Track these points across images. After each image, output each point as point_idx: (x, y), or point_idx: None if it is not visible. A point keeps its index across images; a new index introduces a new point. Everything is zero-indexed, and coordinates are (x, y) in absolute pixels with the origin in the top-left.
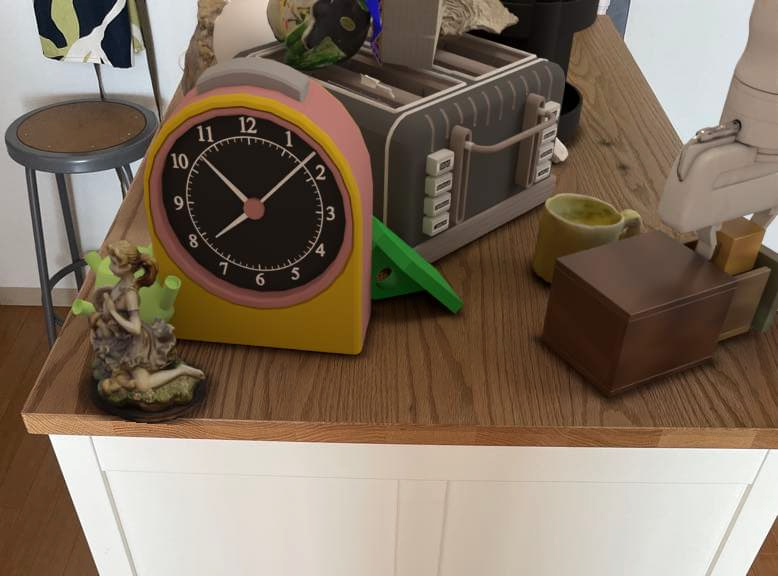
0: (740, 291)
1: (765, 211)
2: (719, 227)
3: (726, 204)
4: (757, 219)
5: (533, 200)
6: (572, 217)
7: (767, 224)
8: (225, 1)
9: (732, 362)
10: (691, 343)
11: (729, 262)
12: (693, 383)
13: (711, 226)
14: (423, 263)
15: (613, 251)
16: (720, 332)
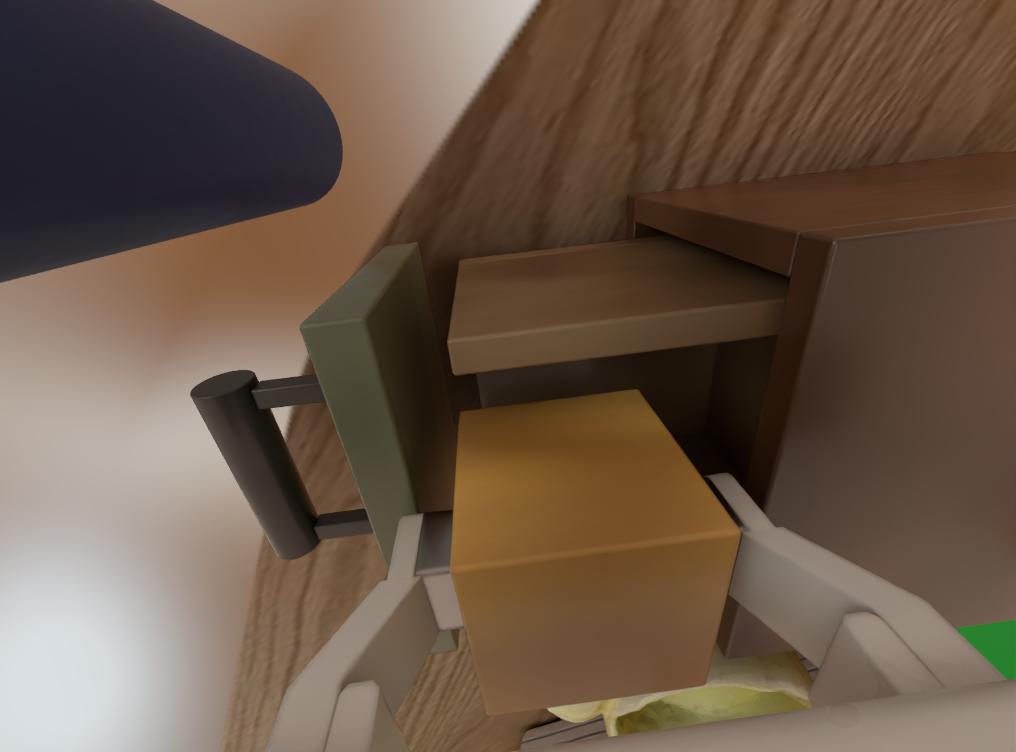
0: (614, 293)
1: (387, 717)
2: (877, 637)
3: None
4: (406, 657)
5: (576, 734)
6: (652, 706)
7: (374, 614)
8: None
9: (567, 168)
10: (801, 188)
11: (651, 432)
12: (749, 117)
13: (971, 654)
14: (1012, 639)
15: (1008, 591)
16: (596, 250)
